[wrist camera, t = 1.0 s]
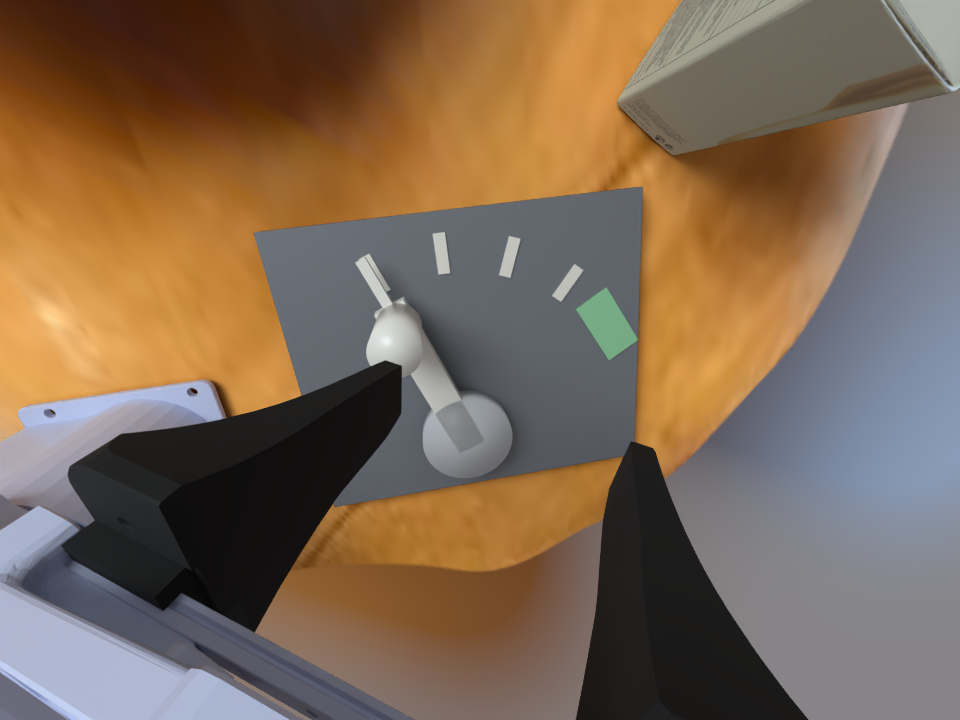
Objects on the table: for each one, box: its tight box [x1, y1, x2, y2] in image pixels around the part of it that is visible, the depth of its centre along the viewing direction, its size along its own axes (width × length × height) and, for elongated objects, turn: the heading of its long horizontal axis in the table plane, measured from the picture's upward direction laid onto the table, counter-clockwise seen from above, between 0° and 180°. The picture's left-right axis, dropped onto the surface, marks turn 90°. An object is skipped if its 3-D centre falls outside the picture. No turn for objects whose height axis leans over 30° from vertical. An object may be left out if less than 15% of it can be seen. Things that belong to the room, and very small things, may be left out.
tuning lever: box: [356, 257, 513, 478], centre depth 20 cm, size 14×5×5 cm, turn 26°
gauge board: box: [254, 187, 643, 507], centre depth 24 cm, size 19×16×1 cm
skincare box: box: [617, 0, 960, 155], centre depth 15 cm, size 6×4×12 cm
